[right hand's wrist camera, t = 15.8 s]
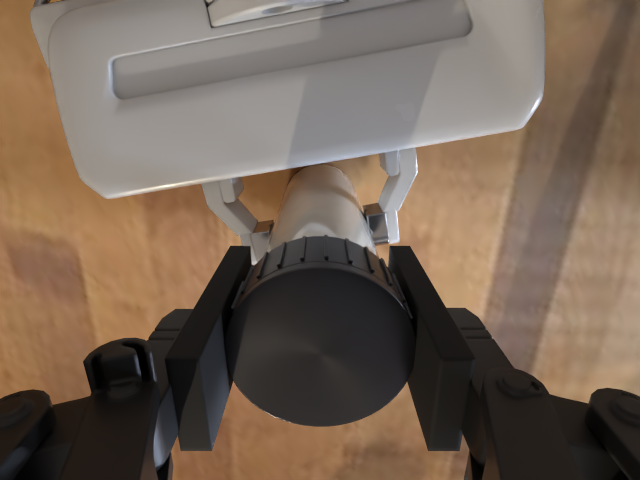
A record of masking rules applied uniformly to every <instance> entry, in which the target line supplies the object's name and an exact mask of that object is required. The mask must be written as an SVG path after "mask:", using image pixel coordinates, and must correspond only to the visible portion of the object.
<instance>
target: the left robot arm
mask: <svg viewBox="0 0 640 480" xmlns="http://www.w3.org/2000/svg"><path fill="white" fill-rule="evenodd" d="M50 1H51V0H35V3H34V7H33V8H32V9H31V11H30V20H31V25H32V29H33V32H34V34H35V37H36V40H37V42H38V45H39V47H40V50H41V53H42V55H43V58H44V60H45V63H46V65H47V66H48V68H49V70H50V74H51V79H52V84H53V89H54V93H55V98H56V102H57V107H58V111H59V115H60V118H61V122H62V126H63V129H64V133H65V136H66V140H67V143H68V147H69V150H70V153H71V156H72V159H73V162H74V165H75V168H76V170H77V173H78V175H79V177H80V179H81V180H82V181H83V182H84V183H85V184H86V185H87V186H89V187H90V188H91V189H93V190H94V191H95V192H96V193H98V194H99V195H101V196H102V197H104V198H107V199H112V198H119V197H125V196H130V195H136V194H142V193H148V192H154V191H160V190H166V189H172V188H178V187H184V186H190V185H196V184H202V188H203V191H204V195H205V198H206V202H207V206H208V207H209V208H210V209H211V210H212V211H213V212H214V213H215V214H216V215H217V216H218V217H219V218H220V219H221V220H222V221H223V222H224V223H225V224H226V225H227V226H228V227H229V228H230V229H231V230H232V231H233V232H234V233H235V234H236V235H237V236H239V235H240V238H241V242H242V245H243V246H251V260H252V265H255V264H256V263H257V262H258V261H259V260H260V259H261V258H262V255H263V252H264V249H265V247H266V244H267V241H268V238H269V236H270V233H271V230H272V227H273V224H274V221H273V220H270V221H263V222H258V221H257V220H256V218H255V217H254V216H253V215H252V214H251V213H250V212H249V210H248V209H247V208H246V207H245V206H244V205H243V204H242V202H241V201H240V200H239V199H238V198H237V197H238V196H239V195H240V193H241V192H242V191H243V190H244V187H243V182H242V178H241V177H243V176H249V175H255V174H261V173H267V172H272V171H278V170H284V169H290V168H296V167H302V166H308V165H314V164H320V163H326V162H332V161H338V160H343V159H349V158H355V157H361V156H367V155H373V154H379V158H380V166H381V167H382V169H383V170H384V171H385V172H386V173H387V174H388V175H389V176H388V179H387V181H386V183H385V186H384V188H383V190H382V193H381V195H380V198H379V200H378V203H374V204H369V205H363V213H364V217H365V219H366V222H367V225H368V228H369V231H370V233H371V236H372V239H373V242H374V245H375V246H378V245H385V244H391V243H398V242H399V230H398V220H397V210H399V209H400V207H401V205H402V203H403V201H404V199H405V197H406V195H407V193H408V191H409V189H410V187H411V185H412V183H413V181H414V179H415V177H416V175H417V172H418V171H417V157H416V147H420V146H426V145H432V144H438V143H444V142H450V141H456V140H462V139H468V138H474V137H479V136H485V135H491V134H497V133H503V132H509V131H515V130H519V129H521V128H523V127H524V126H525V124H526V123H527V122H528V121H529V119H530V118H531V116H532V115H533V114H534V112H535V111H536V109H537V108H538V106H539V104H540V103H541V101H542V98H543V93H544V84H545V18H544V2H543V0H63V1H58V2H53V3H49V2H50Z"/></svg>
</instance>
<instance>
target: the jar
mask: <svg viewBox="0 0 640 480" xmlns="http://www.w3.org/2000/svg"><path fill="white" fill-rule="evenodd" d="M324 235H328V236H329V237H337V238H341V239H345V238H347V239H349V241H351V242H354V243H357V244H359V245H361V246H363V247H365V246H366V247H368V249H369V251H371V252H372V253H374V254H375V255H376V256H377V257H378V258H379V256H378V253H377V250H376V247H375V245H374V242H373V239H372V236H371V233H370V231H369V228H368V225H367V222H366V219H365V217H364V214H363V211H362V208H361V205H360V203H359V200H358V197H357V194H356V191H355V189H354V186H353V184H352V182H351V180H350V179H349V178H348V176H347V175H346V174H345V173H343V172H342V171H341V170H339V169H337V168H335V167H333V166H329V165H324V164H317V165H311V166H308V167H306V168H303V169H302V170H300V171H299V172H297V173H296V174H295V175H294V176H293V177H292V179H291V180H290V182H289V183H288V185H287V188H286V191H285V194H284V196H283V199H282V202H281V205H280V208H279V210H278V213H277V216H276V219H275V222H274V224H273V227H272V230H271V233H270V236H269V238H268V241H267V244H266V247H265V249H264V252H263V255H262V257H263V256H264V253H265V252H270V251H271V250H273V249H274V248H276V247H278V246H280V245H282V242H286V243H287V242H289V241H292V240H295V239H299V238H302V237H303V236H306V237H311V236H324Z"/></svg>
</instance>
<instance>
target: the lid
mask: <svg viewBox="0 0 640 480" xmlns="http://www.w3.org/2000/svg"><path fill="white" fill-rule="evenodd" d="M230 311H232V315H231V317H230V320H229V323H228V325H227V328H226V333H225V338H224V346H225V356H226V364H227V367H228V370H229V373H230V375H231V377H232V379H233V381H234V383H235V384H236V386H237V387H238V389H239V390H240V391H241V392H242V393H243V395H244V396H245V397H246V398H247V399H248V400H249V401H250V402H252V403H253V404H254V405H255V406H257V407H258V408H260V409H261V410H262V411H264V412H266V413H268V414H270V415H271V416H274V417H276V418H278V419H281V420H284V421H287V422H290V423H294V424H299V425H304V426H315V427H324V426H336V425H342V424H347V423H351V422H354V421H357V420H360V419H363V418H365V417H367V416H369V415H371V414H373V413H375V412H377V411H378V410H380V409H381V408H383V407H384V406H385V405H387V404H388V403H389V402H390V401H391V400H392V399H393V398H395V397H396V396H397V394H398V393H399V392H400V391H401V389H402V388H403V387H404V385H405V384H406V382H407V380H408V379H409V377H410V374H411V372H412V369H413V366H414V359H415V350H416V335H415V330H414V326H413V324H412V321H413V316H412V314H411V311H410V309H409V307H408V304H407V302H406V299H405V297H404V294H403V292H402V290H401V287H400V285H399V283H398V280H397V278H396V275H395V274H394V273H393V274H392V273H391V272H390V270H389V269H388V267H387V266H386V264H385V262H384V260H383V259H382V258H381V259H379V258H378V257H377V256H376V255H375V254H374V253H372V252H371V251H369V249H368V247H366V246H365V247H363V246H361V245H359V244H357V243H354V242H351V241H349V239H347V238H345V239H341V238H337V237H329V236H328V235H324V236H311V237H306V236H303V237H302V238H299V239H295V240H292V241H289V242H287V243H286V242H282V245H280V246H278V247H276V248H274V249H273V250H271V251H270V252H265V253H264V256H263V257H262V258H261V259H260V260H259V261H258V262H257V263H256V264H255V266H254V265H252V266H251V267H250V270H249V272H248V275H247V277H246V280H245V282H244V281H242V283H241V285H240V288H239V290H238V292H237V295H236V297H235V300H234V302H233V304H232V307H231V309H230Z"/></svg>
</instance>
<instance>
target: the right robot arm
mask: <svg viewBox="0 0 640 480" xmlns="http://www.w3.org/2000/svg"><path fill="white" fill-rule="evenodd" d="M251 266H252V260H251V246H230V248H229V249H228V251H227V253H226V254H225V256H224V258H223V260H222V261H221V263H220V265H219V266H218V268H217V270H216V272H215V273H214V275H213V277H212V278H211V280H210V282H209V283H208V285H207V287H206V289H205V290H204V292H203V294H202V295H201V297H200V299H199V301H198V302H197V304H196V306H195V307H194V309H175V310H174V311H172V312H171V313H169V314H168V315H166V316H165V317H164V318H162V320H161V321H160V322H159V324H158V325H157V327H156V328H155V331H153V332H152V334H151V335H150V337H149V340H147V341H145V340H143V339H139V338H123V339H119V340H115V341H111V342H109V343H106V344H104V345H102V346H100V347H98V348H97V349H95V350H94V351H92V352H91V353H90V354H89V355H88V356H87V357H86V358H85V360H84V361H83V363H84V367H85V371H86V374H87V378H88V382H89V385H90V389H91V396H88V397H85V398H82V399H77V400H73V401H68V402H64V403H60V404H55V405H52V403H51V400H50V397H49V395H48V394H47V393H45V392H44V391H40V390H26V391H20V392H17V393H13V394H10V395H8V396H5V397H3V398H1V399H0V480H172V473H173V462H172V456H171V449H172V447H173V445H174V442H175V440H176V437H177V435H178V438H179V444H180V449H181V451H212V449H213V446H214V442H215V439H216V436H217V432H218V429H219V426H220V422H221V419H222V416H223V413H224V409H225V406H226V403H227V399H228V396H229V393H230V389H231V386H232V383H233V379H232V377H231V375H230V373H229V370H228V367H227V364H226V356H225V346H224V338H225V333H226V328H227V325H228V323H229V320H230V317H231V315H232V311H230V309H231V307H232V304H233V302H234V300H235V297H236V295H237V292H238V290H239V288H240V285H241V283H242V281H244V282H245V280H246V277H247V275H248V272H249V270H250V267H251ZM388 269H389V270H390V272H391V273H392V274H393V273H394V274H395V275H396V278H397V280H398V283H399V285H400V287H401V290H402V292H403V294H404V297H405V299H406V302H407V304H408V307H409V309H410V311H411V314H412V316H413V321H412V324H413V326H414V330H415V335H416V350H415V359H414V366H413V369H412V372H411V374H410V377H409V379H408V380H407V382H408V385H409V389H410V392H411V395H412V399H413V402H414V405H415V408H416V412H417V415H418V418H419V422H420V425H421V428H422V432H423V435H424V438H425V442H426V445H427V448H428V451H459V450H460V445H461V439H462V434H463V435H464V437H465V440H466V442H467V445H468V447H469V449H470V450H469V456H468V461H467V466H466V471H465V476H464V480H640V397H639V396H637V395H635V394H632V393H629V392H626V391H623V390H618V389H611V388H604V389H597V390H596V391H595V392H594V393H592V394H591V397H590V401H589V404H588V403H583V402H579V401H574V400H570V399H565V398H561V397H557V396H554V395H550V394H549V392H548V391H547V389H546V388H545V386H544V385H543V384H542V383H541V382H540V381H539V380H537V379H536V378H535V377H534V376H532V375H530V374H528V373H526V372H524V371H522V370H518V369H514V367H513V366H512V365H511V363H510V362H509V360H508V359H507V357H506V356H505V355H504V353H503V352H502V350H501V349H500V347H499V346H498V345H497V343H496V342H495V340H494V339H492V336H491V335H490V333H489V332H488V330H486V328H485V326H484V325H483V323H482V322H481V321H480V319H479V318H478V317H477V316H476V315H474V314H473V313H471V312H470V311H469V310H467V309H466V308H446V307H445V305H444V304H443V302H442V300H441V298H440V297H439V295H438V293H437V292H436V290H435V288H434V286H433V285H432V283H431V281H430V280H429V278H428V276H427V275H426V273H425V271H424V269H423V268H422V266H421V264H420V263H419V261H418V259H417V257H416V256H415V254H414V252H413V251H412V249H411V247H410V246H390V250H389V264H388Z"/></svg>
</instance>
